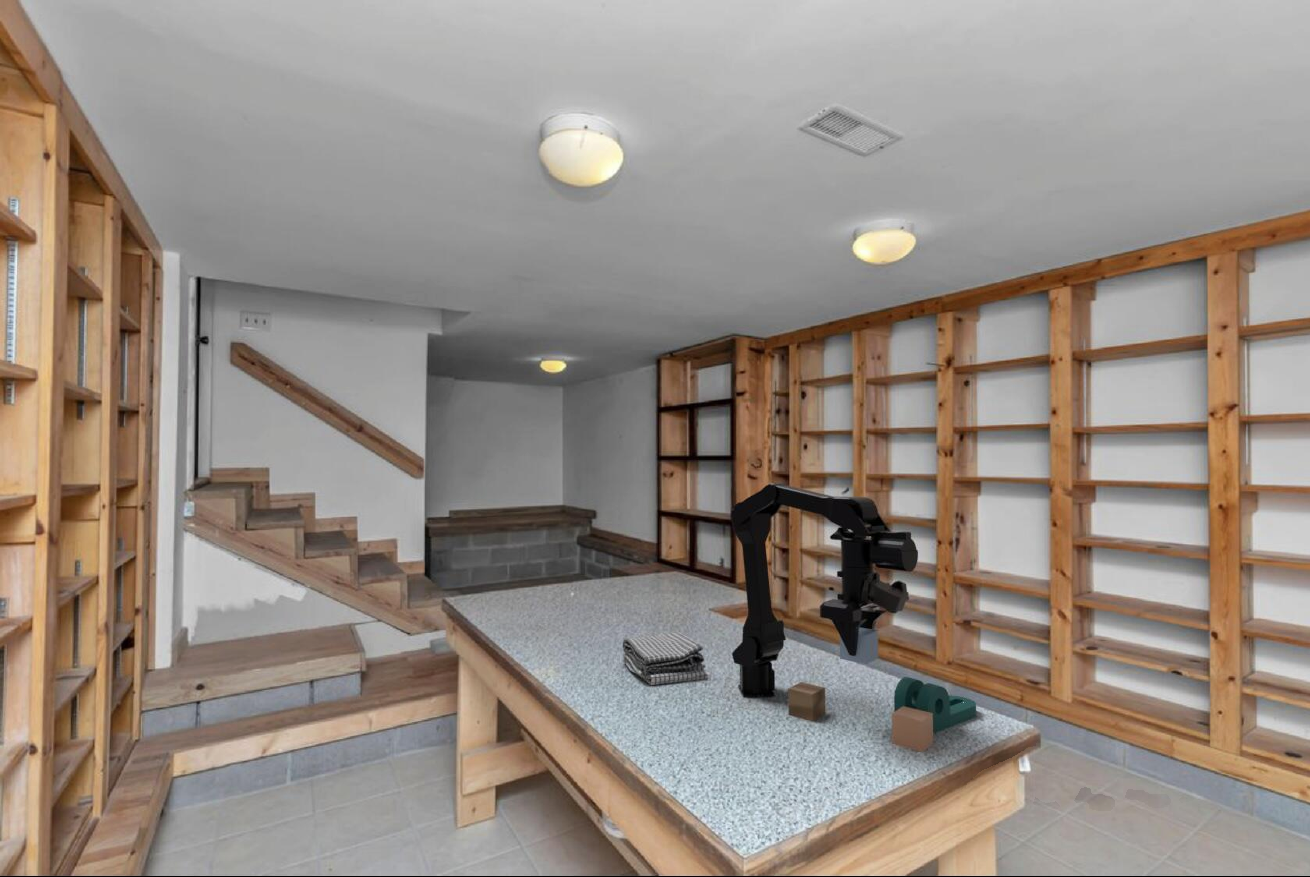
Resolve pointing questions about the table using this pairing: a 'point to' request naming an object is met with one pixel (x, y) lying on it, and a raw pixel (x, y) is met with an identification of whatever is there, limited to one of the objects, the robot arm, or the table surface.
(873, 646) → the blue cube
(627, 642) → the towel
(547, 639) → the table surface
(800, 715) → the walnut cube
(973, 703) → the bracket
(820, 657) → the table surface
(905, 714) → the terracotta cube
